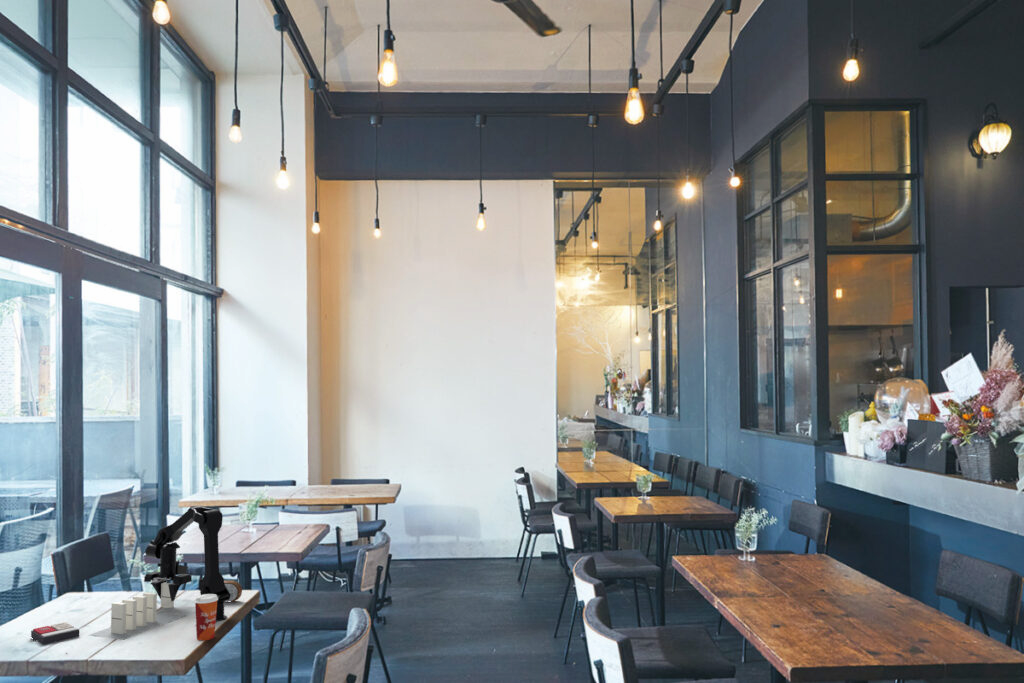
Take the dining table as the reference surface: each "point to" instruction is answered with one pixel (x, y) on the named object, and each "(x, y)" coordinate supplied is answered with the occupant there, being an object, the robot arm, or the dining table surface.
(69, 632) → the black and red box
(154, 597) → the domino
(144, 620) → the domino
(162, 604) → the domino
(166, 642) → the dining table surface
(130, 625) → the domino
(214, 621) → the paper cup
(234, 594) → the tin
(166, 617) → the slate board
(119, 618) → the domino
